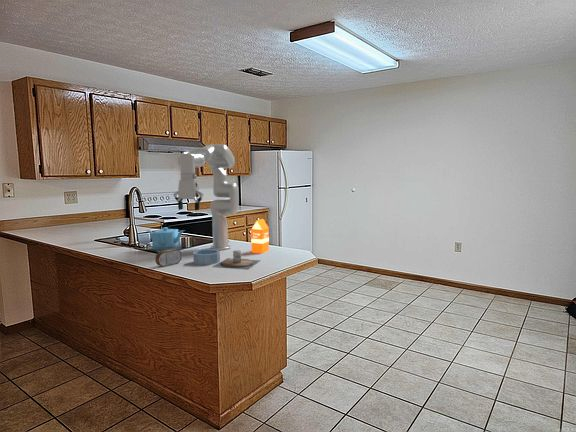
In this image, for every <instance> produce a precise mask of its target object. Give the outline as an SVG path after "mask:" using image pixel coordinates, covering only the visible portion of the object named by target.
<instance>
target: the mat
mask: <svg viewBox="0 0 576 432" xmlns="http://www.w3.org/2000/svg"><path fill="white" fill-rule="evenodd" d="M228 259H232V257H231V258H229V257H228V258H226V259H224V260H228ZM251 260H252V261H253V264H252V265H250V266H247V267H239V268H231V267H225V266H222V265H221V262H222V261H220V262H218V263H216V264H213V266H212V268H218V269H219V268H220V269H222V268H223V269H231V270H232V269H234V270H250V269H252V267H254V266H256V265H257V264H259V262H261V259H260V260H258V259H251Z"/></svg>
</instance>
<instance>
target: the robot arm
mask: <svg viewBox="0 0 576 432" xmlns="http://www.w3.org/2000/svg"><path fill="white" fill-rule="evenodd" d="M205 163H207V164H208V166H209V168H210V170H211V173H212V175H213V186H212V188H213V189H212V190H213V196H215V197H216V198H229V199H213V200H212V201H211V202H210V213H211V221H212V223H211V224H212V225H211V227H212V245H211V246H210V249H215V250H219V251H224V250H228V249H230V248H231V245H229V243H230V240H229V238H228V235H229V234H228V233H229V232H228V219H227V217H226V215H229V216H230V215H231V216H233V215H236V214H237V213H238V211H239V186H238V184H237V183H235V182H228V174H227V172H226V170H225V169H231V168H233V167H234V166H235V163H236V159H235V157H234V155H233V152H232V151H231V150H230V148H229V147H228V146H227V145H226V144H224V143H223V144H222V143H216V144H215V143H213V144H212V143H211V144H207V145H205V146H202V147H201V148H195V149H191V150H186V151H183V152H181V153H180V154H179V155H178V157H177V164H178V165H179V168H180V171H179V173H180V174H179V175H180V179H179V181H178V189H177V191H175V192H174V193H173V194H172V195H173V196H174V199H175V201H176V202H177V207H178V208H177V209H178V210H180V211H182V210H183V209H184V203H183V200H185V199H186V200H194V210H195V211H199V210H200V203H201V201H202V200H203V198H204V195H205V194H204V193H202V192H201V191H200V190H199V183H198V180H197V179H196V178H198V175H197V174H196V168H197V169H198V168H201V167H204V166H205Z"/></svg>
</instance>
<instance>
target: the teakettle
mask: <svg viewBox="0 0 576 432" xmlns="http://www.w3.org/2000/svg"><path fill="white" fill-rule="evenodd" d="M145 231H146V232H148V233H149V235H150V239H151V240H152V241H151V242H152V243H151V244H152V250H153V251H157V252H156V253H158V252H159V251H162V250H168V249H177V248H178V247H179V246H180V245H179V244H180V243H179V242H180V240H181V236H182V234H183V233H184V232H185V231H186V229H185V230H183V229H182V230H179V229H178V228H169V227H168V226H165V227H162V228H159V229H157V230H155V231H152V230H150V229H146V230H145Z"/></svg>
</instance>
